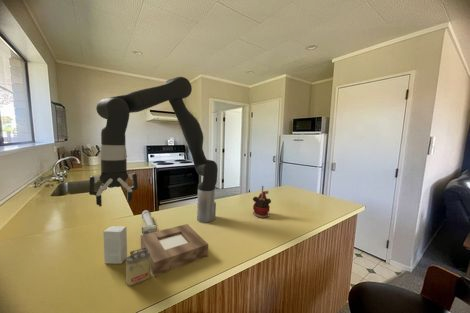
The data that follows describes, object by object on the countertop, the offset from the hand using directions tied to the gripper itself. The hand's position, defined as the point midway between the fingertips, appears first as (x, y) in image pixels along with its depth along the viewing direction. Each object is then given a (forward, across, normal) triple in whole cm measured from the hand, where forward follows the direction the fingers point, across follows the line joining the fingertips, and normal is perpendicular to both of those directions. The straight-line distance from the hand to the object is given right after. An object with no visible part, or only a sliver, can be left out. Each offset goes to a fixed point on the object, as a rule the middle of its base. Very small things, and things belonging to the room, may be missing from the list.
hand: (114, 203), depth 69 cm
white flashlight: (+19, -13, -21) cm, 31 cm away
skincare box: (+22, 0, 0) cm, 22 cm away
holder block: (+21, -19, +6) cm, 29 cm away
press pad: (+18, -19, +6) cm, 27 cm away
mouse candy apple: (+21, -75, -2) cm, 78 cm away
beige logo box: (+22, -5, +14) cm, 26 cm away
